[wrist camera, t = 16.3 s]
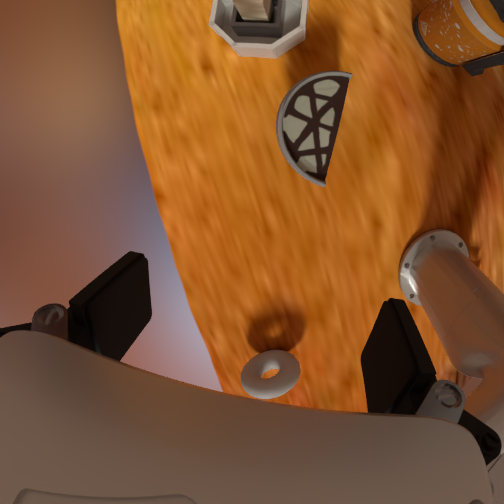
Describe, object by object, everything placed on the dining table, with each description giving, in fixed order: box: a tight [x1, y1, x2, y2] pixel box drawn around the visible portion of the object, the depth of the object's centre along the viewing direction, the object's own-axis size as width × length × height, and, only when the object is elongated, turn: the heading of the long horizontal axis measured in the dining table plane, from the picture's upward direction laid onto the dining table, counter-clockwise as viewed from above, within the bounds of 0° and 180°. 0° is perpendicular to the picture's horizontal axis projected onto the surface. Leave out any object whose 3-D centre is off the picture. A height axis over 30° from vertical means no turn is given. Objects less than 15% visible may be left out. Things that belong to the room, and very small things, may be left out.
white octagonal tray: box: [209, 0, 309, 59], centre depth 26 cm, size 11×11×4 cm
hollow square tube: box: [230, 0, 286, 38], centre depth 25 cm, size 6×6×4 cm
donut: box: [241, 350, 300, 399], centre depth 43 cm, size 10×4×10 cm, turn 110°
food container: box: [276, 71, 353, 187], centre depth 28 cm, size 12×6×10 cm, turn 169°
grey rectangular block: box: [232, 0, 275, 24], centre depth 23 cm, size 3×3×9 cm
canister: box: [414, 0, 504, 76], centre depth 15 cm, size 9×11×20 cm
